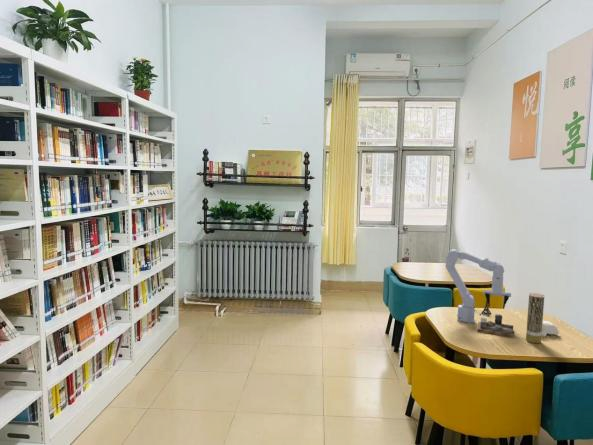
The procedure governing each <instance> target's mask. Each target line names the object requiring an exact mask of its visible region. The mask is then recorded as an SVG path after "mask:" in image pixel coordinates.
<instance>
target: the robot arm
mask: <svg viewBox="0 0 593 445" xmlns="http://www.w3.org/2000/svg"><path fill="white" fill-rule="evenodd" d="M458 260H460V261H461V260H467V261H469V262H472V263H475V264H477V265H478V266H479V268H481V269H483V270H487V271H488V272H492V277H491V278H492V279H491V290H489V289H488V290H486V289H483V291H482V293H483V295H484V296H485V298H486V299H487V302H488V308H490V305H491V302H490V301H491V300H490V298H491V295H493V296H498V297H499V296H501V297H503V303H502V304H503V305H502V309H503V310H504V309H505V307H506V304H507V302H508V301H509V299H510V298H512V293H511V292H506V291H504V290H503V289H504V273H505V270H504V269H505V268H504V266H503V265H502V264H501V263H499V262H497V261H492V260H489V258H487V257H486V258H485V257H483V258H479V257H477V256H475V255H472V254H470V253H468V252H465V251H463V250H459V249H457V248H452V249H450V250H449V251H448V253H447V256H446V259H445V262H446V263H445V268H446V270H447V272H448V274H449V275H450V277H451V279H452V280H453V283H454V284H455V287H456V289H457V290H458V292H459V294H460V296H461V299H462V304H458V306H457V314H456V317H457V318H456V321H457V322H464V323H470V324H475V321H476V318H475V314H476V312H475V310H476V305H475V296H474V295H473V294H472V293H471V292H470V290H469V289H468V288H467V286H466V285H465V282H464V280H463V279H462V277H461V276H460V273H459V272H458V269H456V266H455V265H456V264H457V263H456V262H457V261H458Z"/></svg>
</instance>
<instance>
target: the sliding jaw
mask: <svg viewBox="0 0 593 445" xmlns="http://www.w3.org/2000/svg"><path fill="white" fill-rule="evenodd" d="M494 323H495V328H500V329H501V324H503V315H502V314H495V315H494Z"/></svg>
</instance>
